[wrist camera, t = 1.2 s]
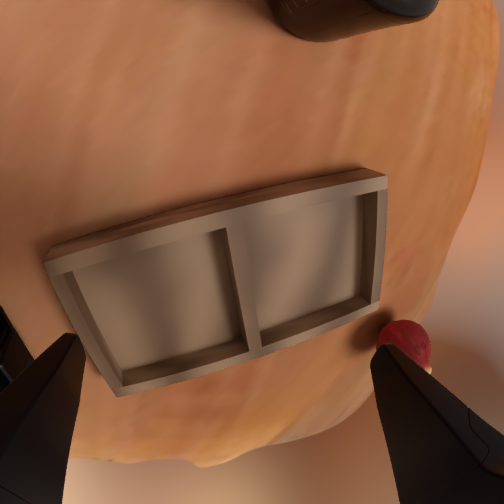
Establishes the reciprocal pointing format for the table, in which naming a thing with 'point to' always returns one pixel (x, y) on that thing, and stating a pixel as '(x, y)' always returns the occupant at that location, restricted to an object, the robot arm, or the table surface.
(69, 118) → the table surface
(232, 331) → the holder
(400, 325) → the onion
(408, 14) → the supplement bottle
